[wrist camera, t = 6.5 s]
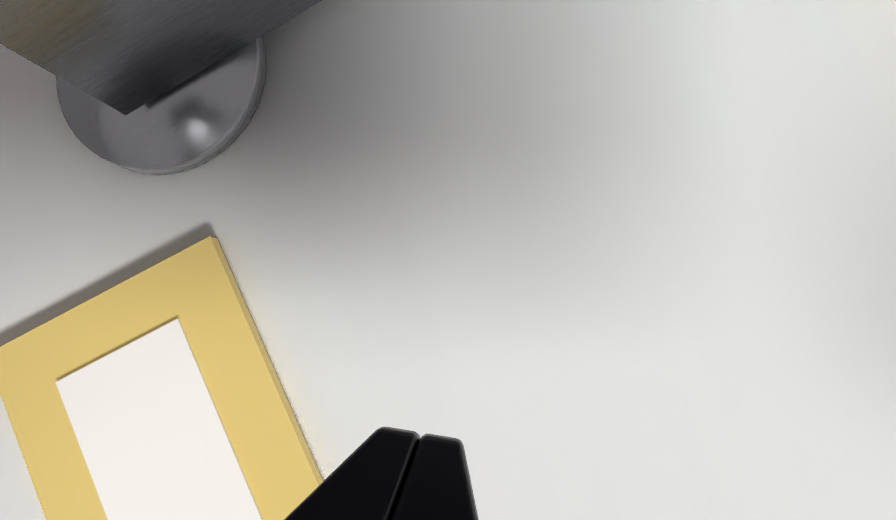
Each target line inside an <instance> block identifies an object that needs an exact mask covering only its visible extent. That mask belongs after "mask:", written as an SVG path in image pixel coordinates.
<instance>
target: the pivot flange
mask: <svg viewBox="0 0 896 520" xmlns="http://www.w3.org/2000/svg"><path fill="white" fill-rule="evenodd" d="M265 76H266V55H265V47H264V43H263V38H262V36H260V37H259V38H257V39H255V40H253V41H252V42H250V43H248V44H247V45H245V46H243V47H242V48H240V49H238V50H236V51H235V52H233V53H231V54H230V55H228V56H226V57H224V58H223V59H221V60H219V61H218V62H216V63H214V64H213V65H211V66H209V67H207V68H206V69H204V70H202V71H201V72H199V73H197V74H196V75H194V76H192V77H190V78H189V79H187V80H185V81H184V82H182V83H180V84H179V85H177V86H175V87H173V88H172V89H170V90H168V91H167V92H165V93H163V94H161V95H160V96H158V97H156V98H155V99H153V100H151V101H150V102H148V103H146V104H144V105H143V106H141V107H139V108H138V109H136V110H134V111H133V112H131V113H129V114H127V115H124V114H122V113H121V112H119V111H117V110H115V109H114V108H112V107H110V106H108V105H107V104H105V103H103V102H101V101H100V100H98V99H96V98H95V97H93V96H91V95H89V94H88V93H86V92H84V91H82V90H81V89H79V88H77V87H75V86H74V85H72V84H70V83H68V82H67V81H65V80H63V79H61V78H60V77H58V76H56V82H57V92H58V98H59V103H60V106H61V109H62V112H63V114H64V116H65V119H66V121H67V123H68V125H69V126H70V128H71V129H72V131H73V132H74V134H75V135H76V136H77V137H78V138H79V140H80V141H81V142H82V143H83V144H84V145H85V146H86V147H88V148H89V149H90V150H91V151H93V152H94V153H95V154H97V155H99V156H101V157H102V158H104V159H106V160H108V161H110V162H112V163H115V164H117V165H119V166H121V167H124V168H126V169H129V170H132V171H136V172H140V173H145V174H155V175H156V174H172V173H177V172H182V171H186V170H189V169H192V168H195V167H197V166H199V165H201V164H204V163H206V162H208V161H209V160H211V159H212V158H214V157H216V156H217V155H219V154H220V153H221V152H223V151H224V150H225V149H226V148H227V147H229V146H230V145H231V144H232V143H233V142H234V141H235V140H236V139H237V138H238V137H239V135H240V134H241V133H242V131H243V130H244V129H245V127H246V126H247V125H248V123H249V121H250V120H251V118H252V116H253V114H254V113H255V110H256V108H257V106H258V103H259V101H260V98H261V95H262V91H263V88H264V82H265Z"/></svg>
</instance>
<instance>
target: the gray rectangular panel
mask: <svg viewBox="0 0 896 520" xmlns="http://www.w3.org/2000/svg"><path fill="white" fill-rule="evenodd" d="M320 1H322V0H0V43H1V44H2V45H4V46H6V47H7V48H9V49H11V50H13V51H14V52H16V53H18V54H20V55H21V56H23V57H25V58H27V59H28V60H30V61H32V62H34V63H35V64H37V65H39V66H41V67H42V68H44V69H46V70H48V71H49V72H51V73H53V74H54V75H56V76H58V77H60V78H61V79H63V80H65V81H67V82H68V83H70V84H72V85H74V86H75V87H77V88H79V89H81V90H82V91H84V92H86V93H88V94H89V95H91V96H93V97H95V98H96V99H98V100H100V101H101V102H103V103H105V104H107V105H108V106H110V107H112V108H114V109H115V110H117V111H119V112H121V113H122V114H124V115H127V114H129V113H131V112H133V111H134V110H136V109H138V108H139V107H141V106H143V105H144V104H146V103H148V102H150V101H151V100H153V99H155V98H156V97H158V96H160V95H161V94H163V93H165V92H167V91H168V90H170V89H172V88H173V87H175V86H177V85H179V84H180V83H182V82H184V81H185V80H187V79H189V78H190V77H192V76H194V75H196V74H197V73H199V72H201V71H202V70H204V69H206V68H207V67H209V66H211V65H213V64H214V63H216V62H218V61H219V60H221V59H223V58H224V57H226V56H228V55H230V54H231V53H233V52H235V51H236V50H238V49H240V48H242V47H243V46H245V45H247V44H248V43H250V42H252V41H253V40H255V39H257V38H259V37H260V36H262V35H264V34H265V33H267V32H269V31H270V30H272V29H274V28H276V27H277V26H279V25H281V24H282V23H284V22H286V21H288V20H289V19H291V18H293V17H294V16H296V15H298V14H299V13H301V12H303V11H305V10H306V9H308V8H310V7H311V6H313V5H315V4H316V3H318V2H320Z"/></svg>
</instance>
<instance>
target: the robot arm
mask: <svg viewBox="0 0 896 520" xmlns="http://www.w3.org/2000/svg"><path fill="white" fill-rule="evenodd" d="M284 520H478V515H477V510H476V505H475V500H474V495H473V490H472V485H471V480H470V475H469V470H468V466H467V461H466V456H465V451H464V446H463V444H462V442H461V441H460V440H459V439H457V438H451V437H445V436H439V435H433V434H425V435H423V436H422V437H421V438H420V436H419V434H418V433H416V432H414V431H409V430H403V429H397V428H391V427H382V428H379V429H377V430H376V431H375V432H374V433H373V434H372V435H371V436H370V437H369V438H368V439H367V440H366V441H365V442H364V443H363V444H362V445H360V446H359V447H358V448H357V449H356V450H355V451H354V452H353V453H352V454H351V455H350V456H349V457H348V458H347V459H346V460H345V461H344V462H343V463H342V464H341V465H340V466H339V467H338V468H337V469H336V470H335V471H334V472H333V473H332V474H331V475H330V476H328V477H327V478H326V479H325V480H324V481H323V482H322V483H321V484H320V485H319V486H318V487H317V488H316V489H315V490H314V491H313V492H312V493H311V494H310V495H309V496H308V497H307V498H306V499H305V500H304V501H303V502H302V503H301V504H300V505H299V506H298V507H296V508H295V509H294V510H293V511H292V512H291V513H290V514H289V515H288V516H287V517H286V518H285V519H284Z"/></svg>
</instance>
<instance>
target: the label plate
mask: <svg viewBox="0 0 896 520" xmlns="http://www.w3.org/2000/svg"><path fill="white" fill-rule="evenodd" d="M0 394H1V397H2V400H3V402H4V405H5V408H6V411H7V413H8V416H9V419H10V421H11V424H12V427H13V430H14V432H15V435H16V438H17V441H18V443H19V446H20V449H21V452H22V454H23V457H24V460H25V463H26V465H27V468H28V471H29V474H30V476H31V479H32V482H33V485H34V487H35V490H36V493H37V495H38V498H39V501H40V504H41V506H42V509H43V512H44V515H45V517H46V520H284V519H285V518H286V517H287V516H288V515H289V514H290V513H291V512H292V511H293V510H294V509H295V508H296V507H298V506H299V505H300V504H301V503H302V502H303V501H304V500H305V499H306V498H307V497H308V496H309V495H310V494H311V493H312V492H313V491H314V490H315V489H316V488H317V487H318V486H319V485H320V484H321V483H322V482H323V479H322V477H321V474H320V472H319V470H318V468H317V465H316V463H315V461H314V458H313V456H312V454H311V452H310V449H309V447H308V445H307V442H306V440H305V438H304V436H303V433H302V431H301V429H300V426H299V424H298V422H297V420H296V417H295V415H294V413H293V410H292V408H291V406H290V404H289V401H288V399H287V397H286V394H285V392H284V390H283V388H282V385H281V383H280V381H279V378H278V376H277V374H276V372H275V369H274V367H273V365H272V363H271V360H270V358H269V356H268V353H267V351H266V349H265V347H264V344H263V342H262V340H261V337H260V335H259V333H258V331H257V328H256V326H255V324H254V321H253V319H252V317H251V315H250V312H249V310H248V308H247V305H246V303H245V301H244V299H243V296H242V294H241V292H240V289H239V287H238V285H237V283H236V280H235V278H234V276H233V273H232V271H231V269H230V267H229V264H228V262H227V260H226V257H225V255H224V253H223V251H222V248H221V246H220V244H219V241H218V239H217V238H214V237H211V236H209V237H207V238H205V239H203V240H201V241H199V242H197V243H196V244H194V245H192V246H190V247H188V248H186V249H184V250H182V251H180V252H179V253H177V254H175V255H173V256H171V257H169V258H167V259H165V260H163V261H161V262H160V263H158V264H156V265H154V266H152V267H150V268H148V269H146V270H144V271H143V272H141V273H139V274H137V275H135V276H133V277H131V278H129V279H127V280H125V281H124V282H122V283H120V284H118V285H116V286H114V287H112V288H110V289H108V290H107V291H105V292H103V293H101V294H99V295H97V296H95V297H93V298H91V299H90V300H88V301H86V302H84V303H82V304H80V305H78V306H76V307H74V308H72V309H71V310H69V311H67V312H65V313H63V314H61V315H59V316H57V317H55V318H54V319H52V320H50V321H48V322H46V323H44V324H42V325H40V326H38V327H36V328H35V329H33V330H31V331H29V332H27V333H25V334H23V335H21V336H19V337H18V338H16V339H14V340H12V341H10V342H8V343H6V344H4V345H2V346H1V347H0Z"/></svg>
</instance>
